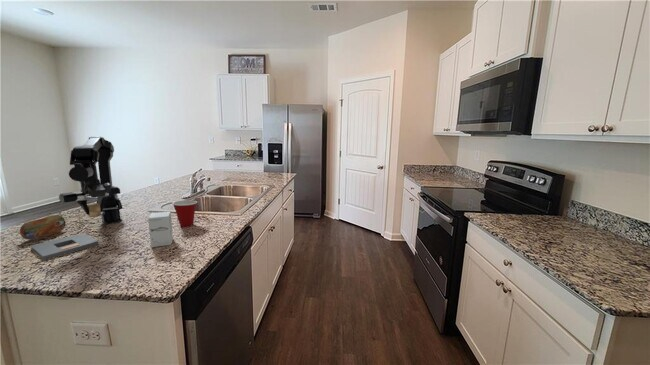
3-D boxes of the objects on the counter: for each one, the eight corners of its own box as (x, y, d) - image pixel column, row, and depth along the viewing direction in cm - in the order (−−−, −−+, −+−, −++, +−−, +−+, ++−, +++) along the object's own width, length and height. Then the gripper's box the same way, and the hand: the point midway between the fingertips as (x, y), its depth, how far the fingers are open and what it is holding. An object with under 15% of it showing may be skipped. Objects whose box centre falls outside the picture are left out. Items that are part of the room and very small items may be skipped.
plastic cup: (203, 221, 137) (201, 199, 135) (190, 229, 126) (188, 205, 124) (183, 220, 138) (181, 198, 136) (169, 228, 127) (167, 204, 125)
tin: (26, 243, 109) (21, 224, 107) (20, 242, 110) (15, 223, 108) (67, 230, 123) (64, 212, 122) (62, 229, 124) (59, 212, 122)
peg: (98, 213, 115) (97, 202, 114) (102, 215, 113) (101, 204, 112) (87, 216, 112) (85, 204, 111) (91, 217, 110) (89, 206, 109)
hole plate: (83, 236, 117) (83, 232, 117) (98, 244, 109) (98, 240, 108) (31, 249, 103) (30, 245, 103) (43, 260, 95) (42, 255, 95)
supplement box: (150, 248, 106) (146, 218, 104) (154, 241, 113) (150, 212, 110) (171, 245, 109) (168, 216, 107) (173, 238, 116) (170, 210, 113)
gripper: (66, 182, 98) (73, 223, 101) (124, 176, 114) (128, 210, 116) (55, 180, 103) (62, 218, 106) (112, 173, 119) (116, 207, 122)
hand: (94, 213), depth 112 cm, fingers closed on peg, 4 cm apart
